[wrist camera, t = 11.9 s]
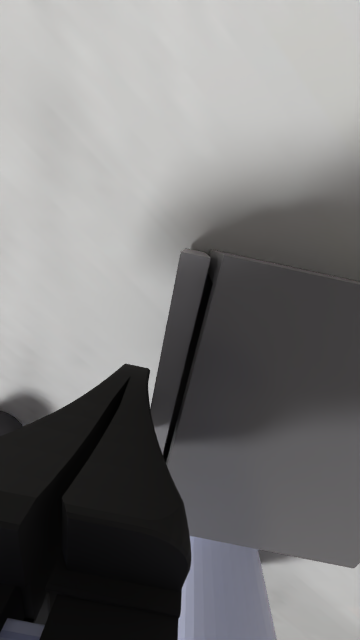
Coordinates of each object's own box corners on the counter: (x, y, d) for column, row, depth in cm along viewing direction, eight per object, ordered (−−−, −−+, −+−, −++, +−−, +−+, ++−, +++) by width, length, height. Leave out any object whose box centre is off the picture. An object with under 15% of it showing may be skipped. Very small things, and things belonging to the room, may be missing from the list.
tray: (146, 440, 15) (131, 503, 12) (185, 248, 10) (180, 251, 7) (291, 470, 15) (322, 541, 12) (395, 293, 11) (500, 320, 7)
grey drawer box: (163, 442, 16) (151, 528, 11) (210, 249, 11) (224, 255, 6) (306, 471, 16) (353, 568, 11) (417, 294, 11) (587, 333, 6)
